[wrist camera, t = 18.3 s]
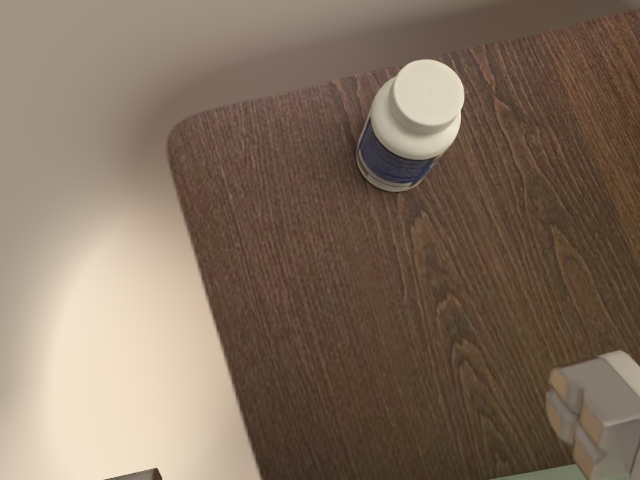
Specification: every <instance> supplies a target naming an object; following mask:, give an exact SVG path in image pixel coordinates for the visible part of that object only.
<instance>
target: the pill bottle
mask: <svg viewBox="0 0 640 480" xmlns="http://www.w3.org/2000/svg"><path fill="white" fill-rule="evenodd" d="M463 102H464V89H463V85H462V83H461V81H460V79H459V77H458V76H457V75H456V73H455V72H454V71H453V70H452V69H450V68H449V67H448V66H446V65H445V64H443V63H440V62H438V61H434V60H417V61H414V62H411V63H409V64H408V65H406V66H405V67H403V68H402V69H401V70H400V72H399V73H398V74H397V76H396V77H394V78H392V79H390V80H389V81H387V82H386V83H385V84H384V85H383V86H382V87H381V88H380V89H379V91H378V93H377V94H376V96H375V98H374V100H373V103H372V106H371V108H370V111H369V114H368V117H367V120H366V123H365V125H364V128H363V130H362V133H361V135H360V137H359V141H358V145H357V151H356V157H357V163H358V167H359V169H360V171H361V173H362V175H363V176H364V177H365V178H366V179H367V180H368V181H369V182H370V183H371V184H373V185H374V186H376V187H378V188H380V189H383V190H386V191H392V192H399V191H406V190H409V189H411V188H413V187H415V186H416V185H418V184H419V183H420V182H421V181H422V180H423V179H424V178H425V177H426V176H427V174H428V173H429V172H430V171H431V169H432V168H433V167H434V166H435V164H436V163H437V162H438V161H439V159H440V158H441V157H442V155H443V154H444V153H445V152H446V150H447V149H448V148H449V147H450V145H451V144H452V142H453V141H454V139H455V138H456V136H457V133H458V131H459V127H460V121H461V114H460V110H461V108H462V106H463Z"/></svg>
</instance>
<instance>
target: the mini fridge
mask: <svg viewBox="0 0 640 480" xmlns="http://www.w3.org/2000/svg"><path fill="white" fill-rule="evenodd" d="M630 476H631V475H630ZM630 476H626V477H622V478H618V479H614V480H633V479H631V478H630ZM490 480H587V479H586V478H585V476H584V475H583V474H582V472H581V471H580V469H579V468H578V466H577V465H576V464H573V465H567V466H562V467H556V468H551V469H545V470H540V471H534V472H529V473H523V474H518V475H512V476H507V477H501V478H495V479H490Z"/></svg>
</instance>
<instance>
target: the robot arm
mask: <svg viewBox="0 0 640 480" xmlns="http://www.w3.org/2000/svg"><path fill="white" fill-rule="evenodd" d="M548 382H549V383H550V384H551V386H552V388H551V389H550V390H549V391H548V393H547V394H546V395H545V404H544V408H545V412H546V416H547V420H548V422H549V424H550V426H551V428H552V430H553V431H554V433H555V434H556V436H557V437H558V439H559V440H561V441H563V442H565V443H567V444H568V445H570V446H572V453H571V458H572V459H573V461H574V462H575V464H576V465H577V466H578V468H579V469H580V471H581V472H582V474H583V475H584V476H585V478H586V479H587V480H614V479H618V478H622V477H626V476H630V475H631V476H630V478H631V479H633V480H640V366H639V365H638V364H637V363H636V362H635V361H634V360H633V359H632V358H631V357H630V356H629V355H628V354H627V353H625V352H623V351H621V350H619V351H614V352H610V353H607V354H603V355H599V356H593V357H589V358H585V359H581V360H578V361H574V362H570V363H566V364H563V365H559V366H555V367H552V369H551V370H550V371H549V375H548ZM106 480H162V477H161V475H160V473H159V471H158V469H157V468H155V469H150V470H146V471H142V472H137V473H132V474H128V475H123V476H119V477H115V478H110V479H106Z"/></svg>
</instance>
